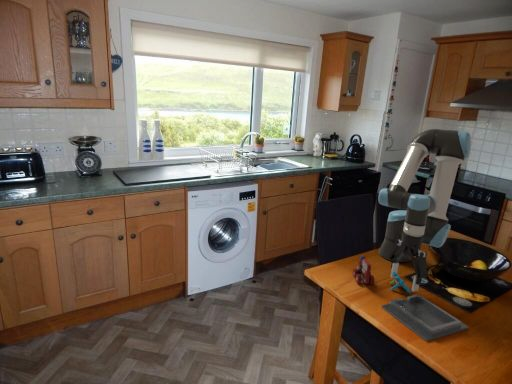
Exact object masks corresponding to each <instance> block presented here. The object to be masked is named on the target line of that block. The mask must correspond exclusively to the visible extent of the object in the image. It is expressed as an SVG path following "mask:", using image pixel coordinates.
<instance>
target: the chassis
mask: <svg viewBox="0 0 512 384" xmlns="http://www.w3.org/2000/svg"><path fill="white" fill-rule="evenodd" d="M381 309H383V310H384V311H385V312H387V313H389V314H390V315H391V316H392V317H393V318H395V319H396V320H398V321H399V322H400V323H401V324H402V325H404V326H405V327H406V328H408V329H409V330H410V331H412V332H413V333H415V335H417V336H418V337H420V338H421V339H422V340H424V341H425V342H430V341H432V340H436V339H439V338H442V337H446V336H449V335H452V334H456V333H458V332H462V331H466V330H468V329H469V326H468V325H467V324H465V323H463V321H461V320H459V319H458V318H457V317H455V316H453V315H451V313H449V312H448V311H446V310H444V309H442V308H441V307H440V306H437V305H436V304H434V303H432V302H431V301H429V300H428V299H427V298H425V297H424V296H422V295H420V294H418V293H417V294H412V295H409V296H407V297H406V299H404V298H403V297H401V298H395V299H391V300H389V303H387V304H382V305H381Z"/></svg>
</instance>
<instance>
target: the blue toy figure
mask: <svg viewBox="0 0 512 384" xmlns="http://www.w3.org/2000/svg"><path fill="white" fill-rule="evenodd" d="M393 274H394V276H395V277H394V278H393V280H392V281H390V282H389V284H390V285H392V284H394V283H396V284H395V285H393V286H392V287H390V290H391V291H394V290H396V289H397V288H398V287H403V289H404V290H405V291H406V292H407V293H408V294H411V293H412V291H411V290H410V289H409V287H408V286H407V285H406V284H405V280H403V279H401V277H400V276H399V274H398V273H397V274H396V273H395V272H393Z"/></svg>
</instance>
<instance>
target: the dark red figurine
mask: <svg viewBox="0 0 512 384" xmlns="http://www.w3.org/2000/svg"><path fill="white" fill-rule="evenodd" d="M371 270H372V265H371V263H370V262H369V261H368V259H367V258H366V256H365V255H360V257H359V260H358V262H357V268H353V269H352V276H353V277H354V279H355V282H356V284H358V285H361V284H362V282H363V283H364V284H368V285H372V286H373V285H375V277H374V275H373V274H372V273H371Z"/></svg>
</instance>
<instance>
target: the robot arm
mask: <svg viewBox="0 0 512 384" xmlns="http://www.w3.org/2000/svg"><path fill="white" fill-rule="evenodd" d="M471 138H472V137H471V134H470V133H469V132H468V131H465V130H464V131H462V130H454V129H452V130H451V129H438V128H430V129H427V130H424V131H422V132H420V133H418V134H417V135H415V137H413V138H412V140H411V141H410V142H409V144H408V145H407V147H406V151H407V152H406V154H405V156H404V158H403V159H402V161H401V163H400V165H399V167H398V169H397V172H396V173H395V174H394V177H393V179H392V181H391V183H390V184H389V187H388V188H382V189H380V191H379V193H378V197H377V198H378V203H379V205H381V206H384V207H388V208H393V209H398V210H393V211H390V212H389V214H388V218H387V219H386V220H387V222H386V229H385V235H384V240H383V241H382V243H381V245H380V246H379V248H378V249H379V250H378V254H379V256H380V257H382V258H384V259H385V260H388V261H390V262H391V264H390V265H391V266H390V270H391V271H390V278H391V279H394V278H396V277H395V276H394V274H393V272H395V273H396V274H397V275H398V272H399V265H400V263H407V262H410V261H411V262H412V265H413V269H414V271H415V275H414V276H413V280H412V286H411V290H410V292H417V291H419V287H420V285H421V284H422V281H423V280H422V279H424V278H427V277H428V266H427V256H428V252H427V251H422V250H421V246H422V245H427V246H429V247H435V248H441V247H442V246H443V245H444V244H445V243H446V241H447V238H448V237H449V234H450V231H451V227H452V226H451V224H450V223H449V218H448V217H447V210H448V207H449V204H450V199H451V195H452V192H453V188H454V184H455V180H456V176H457V172H458V168H459V165H461V164H463V163H464V160H465V159H467V158H469V157H470V153H471V145H472V143H471V142H472V141H471V140H472V139H471ZM429 154H433V155H435V157H434V158H435V159H436V161H437V163H436V167H435V170H434V176H433V179H432V183H431V187H430V191H429V194H418V193H411V192H408V190H409V188H410V186H411V185H412V182H413V181H414V178H415V176H416V174H417V172H418V171H419V168H420V166H421V164H422V163H423V159H424V158H427V156H429Z"/></svg>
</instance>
